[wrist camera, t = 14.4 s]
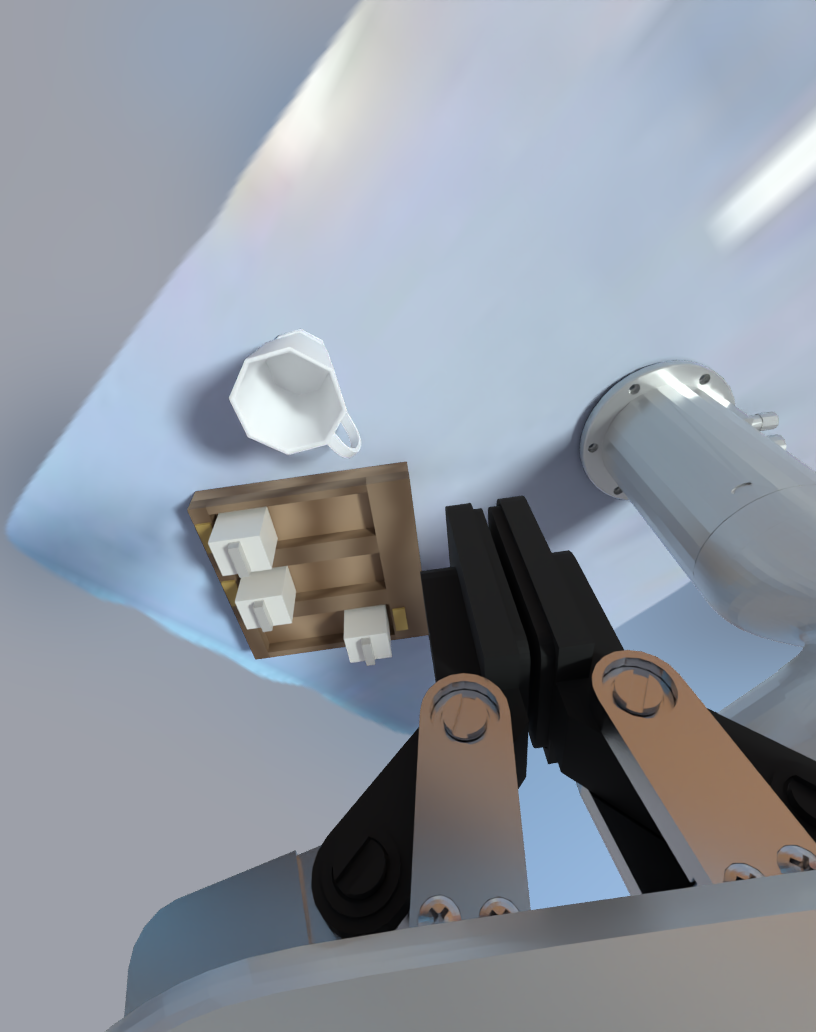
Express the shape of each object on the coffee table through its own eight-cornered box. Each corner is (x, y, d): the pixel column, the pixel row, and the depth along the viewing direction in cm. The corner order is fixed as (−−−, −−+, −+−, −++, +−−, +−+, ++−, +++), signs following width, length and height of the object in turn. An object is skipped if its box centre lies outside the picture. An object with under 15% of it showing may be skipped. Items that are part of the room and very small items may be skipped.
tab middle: (286, 563, 47) (280, 602, 43) (296, 591, 49) (291, 630, 45) (243, 569, 47) (232, 608, 43) (254, 597, 49) (245, 636, 45)
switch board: (406, 461, 43) (409, 479, 41) (427, 615, 55) (430, 636, 52) (195, 491, 43) (186, 511, 41) (259, 638, 55) (255, 661, 52)
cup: (302, 287, 35) (289, 320, 28) (392, 396, 40) (399, 446, 33) (229, 351, 37) (202, 396, 30) (324, 447, 42) (318, 503, 35)
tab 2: (384, 601, 50) (387, 639, 47) (389, 625, 52) (392, 663, 49) (344, 607, 50) (343, 645, 47) (350, 630, 52) (350, 669, 49)
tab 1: (266, 505, 43) (257, 542, 39) (277, 538, 45) (270, 575, 41) (218, 512, 43) (205, 549, 39) (232, 544, 45) (220, 582, 41)
